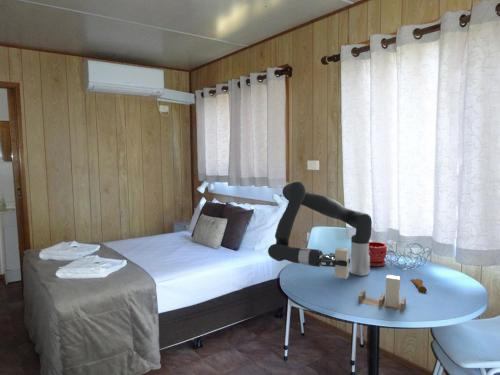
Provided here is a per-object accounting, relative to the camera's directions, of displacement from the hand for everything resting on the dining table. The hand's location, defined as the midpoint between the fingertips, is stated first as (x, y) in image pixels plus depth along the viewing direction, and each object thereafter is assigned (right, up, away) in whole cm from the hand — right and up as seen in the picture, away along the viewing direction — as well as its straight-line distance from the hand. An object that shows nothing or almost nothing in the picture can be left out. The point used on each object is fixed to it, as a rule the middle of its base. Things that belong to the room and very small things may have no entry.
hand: (348, 262), depth 154 cm
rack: (+13, -18, -3) cm, 23 cm away
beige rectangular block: (-2, -6, +2) cm, 7 cm away
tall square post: (+17, -17, -5) cm, 24 cm away
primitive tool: (+40, -16, +21) cm, 48 cm away
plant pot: (+31, -13, +56) cm, 65 cm away
